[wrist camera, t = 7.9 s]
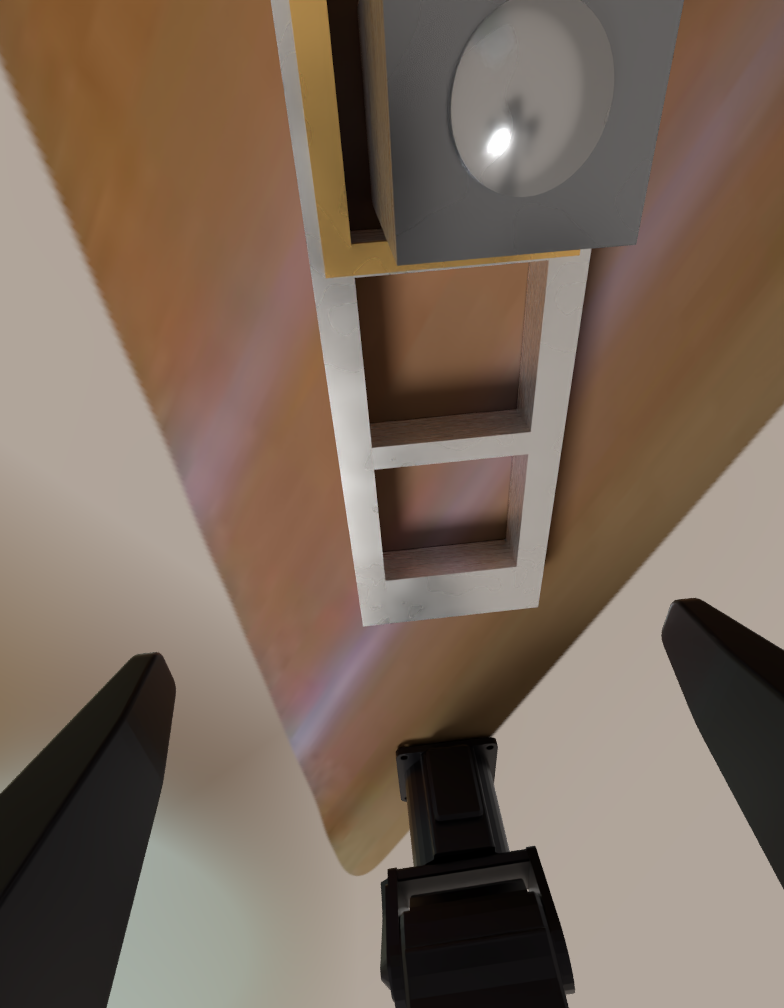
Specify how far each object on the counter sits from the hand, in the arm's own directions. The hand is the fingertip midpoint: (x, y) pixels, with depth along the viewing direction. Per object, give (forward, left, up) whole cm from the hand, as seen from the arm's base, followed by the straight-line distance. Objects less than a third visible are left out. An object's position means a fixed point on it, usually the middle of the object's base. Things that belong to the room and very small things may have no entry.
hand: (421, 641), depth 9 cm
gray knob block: (+7, -2, -12) cm, 14 cm away
